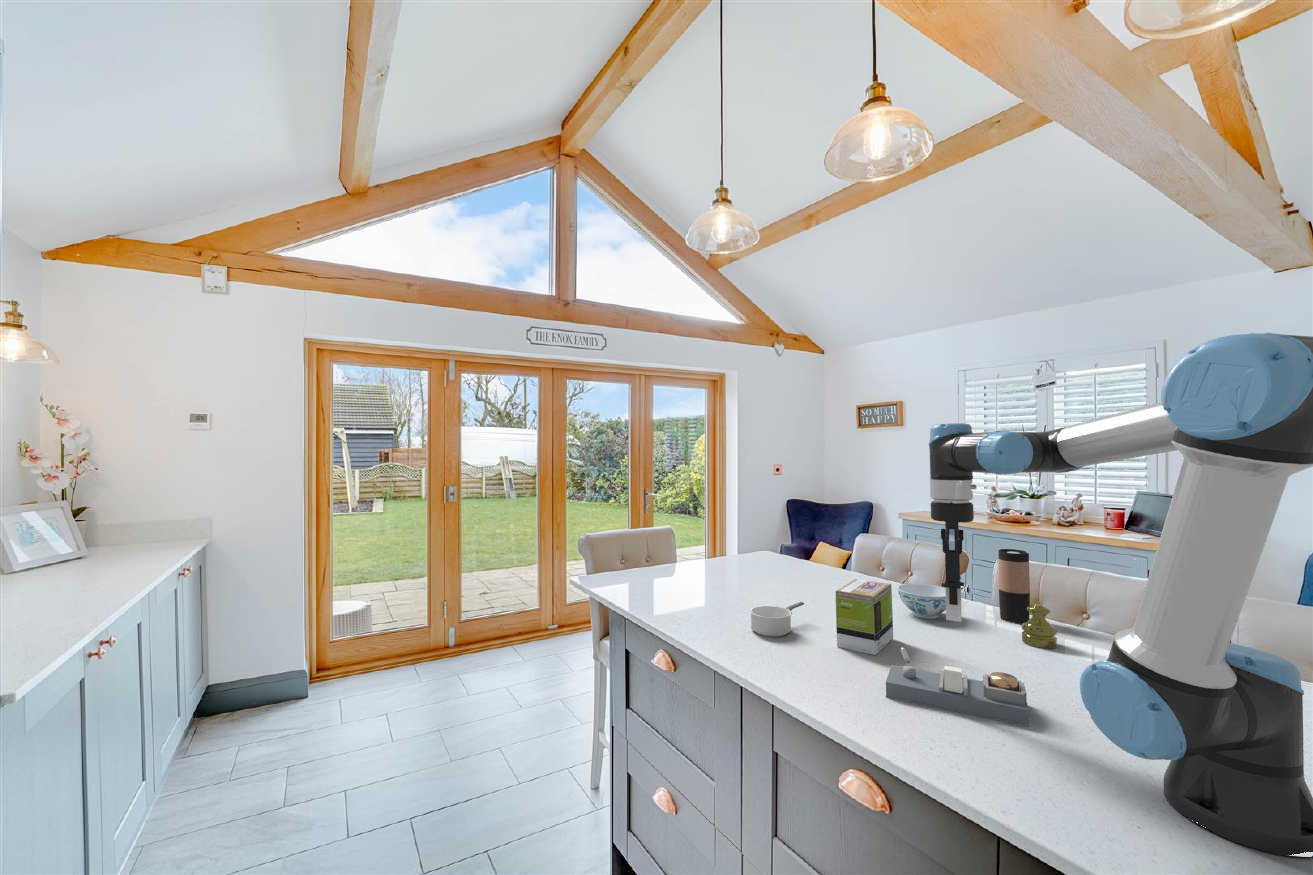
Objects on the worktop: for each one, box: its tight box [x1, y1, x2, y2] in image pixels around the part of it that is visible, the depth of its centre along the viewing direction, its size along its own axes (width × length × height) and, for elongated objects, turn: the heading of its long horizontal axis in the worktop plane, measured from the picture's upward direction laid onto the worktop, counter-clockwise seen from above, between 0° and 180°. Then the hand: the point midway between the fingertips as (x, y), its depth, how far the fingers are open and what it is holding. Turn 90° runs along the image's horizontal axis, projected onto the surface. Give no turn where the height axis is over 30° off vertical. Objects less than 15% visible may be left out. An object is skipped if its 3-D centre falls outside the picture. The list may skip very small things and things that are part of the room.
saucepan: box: [749, 601, 805, 638], centre depth 152 cm, size 12×20×6 cm, turn 128°
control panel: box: [885, 664, 1030, 727], centre depth 108 cm, size 10×24×5 cm, turn 60°
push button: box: [989, 671, 1018, 692], centre depth 104 cm, size 4×4×2 cm
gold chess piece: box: [1021, 603, 1058, 649], centre depth 139 cm, size 7×7×10 cm
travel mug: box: [998, 548, 1031, 624], centre depth 159 cm, size 8×8×20 cm
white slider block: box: [943, 665, 963, 693], centre depth 106 cm, size 2×3×4 cm, turn 60°
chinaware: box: [897, 583, 946, 620], centre depth 163 cm, size 15×15×8 cm
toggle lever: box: [900, 647, 911, 665], centre depth 113 cm, size 1×1×3 cm
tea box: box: [835, 578, 894, 656], centre depth 140 cm, size 15×10×15 cm, turn 141°
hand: (953, 619), depth 108 cm, fingers closed
